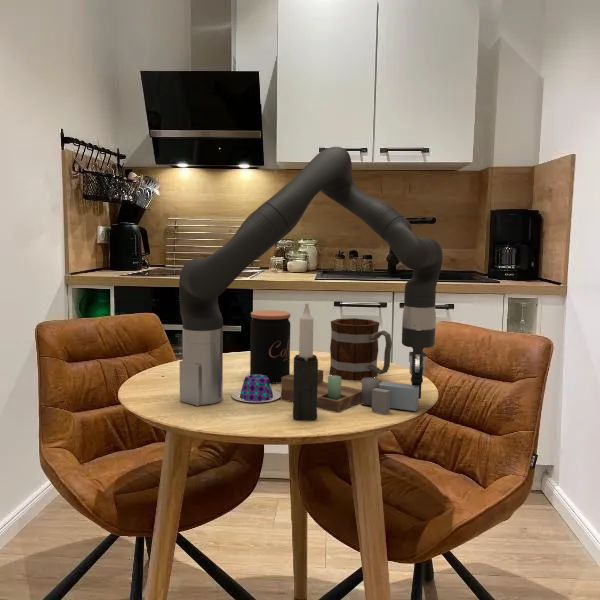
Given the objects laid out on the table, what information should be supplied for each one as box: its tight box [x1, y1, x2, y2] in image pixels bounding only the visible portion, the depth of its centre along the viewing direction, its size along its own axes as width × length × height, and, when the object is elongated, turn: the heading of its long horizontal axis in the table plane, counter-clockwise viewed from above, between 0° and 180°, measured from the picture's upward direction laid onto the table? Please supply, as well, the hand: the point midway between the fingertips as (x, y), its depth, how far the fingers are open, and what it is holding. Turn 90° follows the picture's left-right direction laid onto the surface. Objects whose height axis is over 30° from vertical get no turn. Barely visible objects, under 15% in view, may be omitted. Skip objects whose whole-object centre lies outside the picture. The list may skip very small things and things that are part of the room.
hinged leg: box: [360, 377, 420, 412], centre depth 137 cm, size 13×4×6 cm, turn 67°
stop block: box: [371, 388, 391, 415], centre depth 133 cm, size 2×4×5 cm, turn 54°
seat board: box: [280, 369, 362, 413], centre depth 141 cm, size 12×16×5 cm
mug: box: [329, 317, 393, 382], centre depth 163 cm, size 20×14×15 cm
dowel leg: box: [327, 375, 342, 400], centre depth 136 cm, size 3×3×7 cm
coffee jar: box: [249, 309, 292, 384], centre depth 159 cm, size 11×11×18 cm
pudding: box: [231, 374, 281, 403], centre depth 143 cm, size 12×12×5 cm
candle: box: [292, 302, 319, 421], centre depth 128 cm, size 5×5×25 cm
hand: (416, 397), depth 139 cm, fingers closed
